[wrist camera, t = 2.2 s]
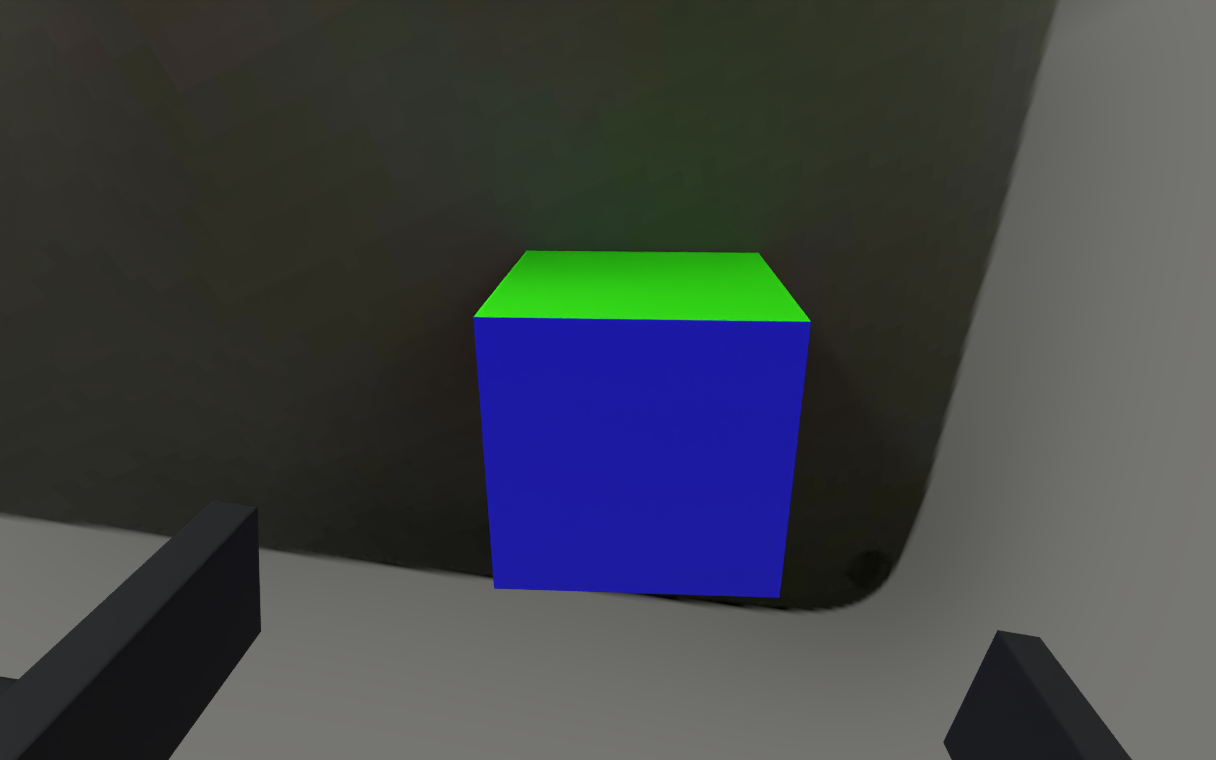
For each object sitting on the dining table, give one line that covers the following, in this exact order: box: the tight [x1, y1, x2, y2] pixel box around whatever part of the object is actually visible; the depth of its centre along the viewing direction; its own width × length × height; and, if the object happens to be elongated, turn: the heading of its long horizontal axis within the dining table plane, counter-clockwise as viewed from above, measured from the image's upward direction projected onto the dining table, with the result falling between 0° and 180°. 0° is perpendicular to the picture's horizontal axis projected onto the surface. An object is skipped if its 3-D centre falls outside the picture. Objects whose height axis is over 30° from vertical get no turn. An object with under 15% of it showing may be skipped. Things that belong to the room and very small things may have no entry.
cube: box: [473, 251, 811, 598], centre depth 21 cm, size 8×8×8 cm
